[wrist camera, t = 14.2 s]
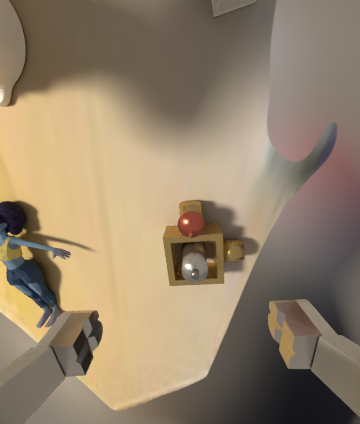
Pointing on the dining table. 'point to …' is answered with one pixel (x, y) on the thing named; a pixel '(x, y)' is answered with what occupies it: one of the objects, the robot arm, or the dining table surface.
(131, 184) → the dining table surface
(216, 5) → the skincare box
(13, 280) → the figurine
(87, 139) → the dining table surface
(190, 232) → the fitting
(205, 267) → the cylinder
